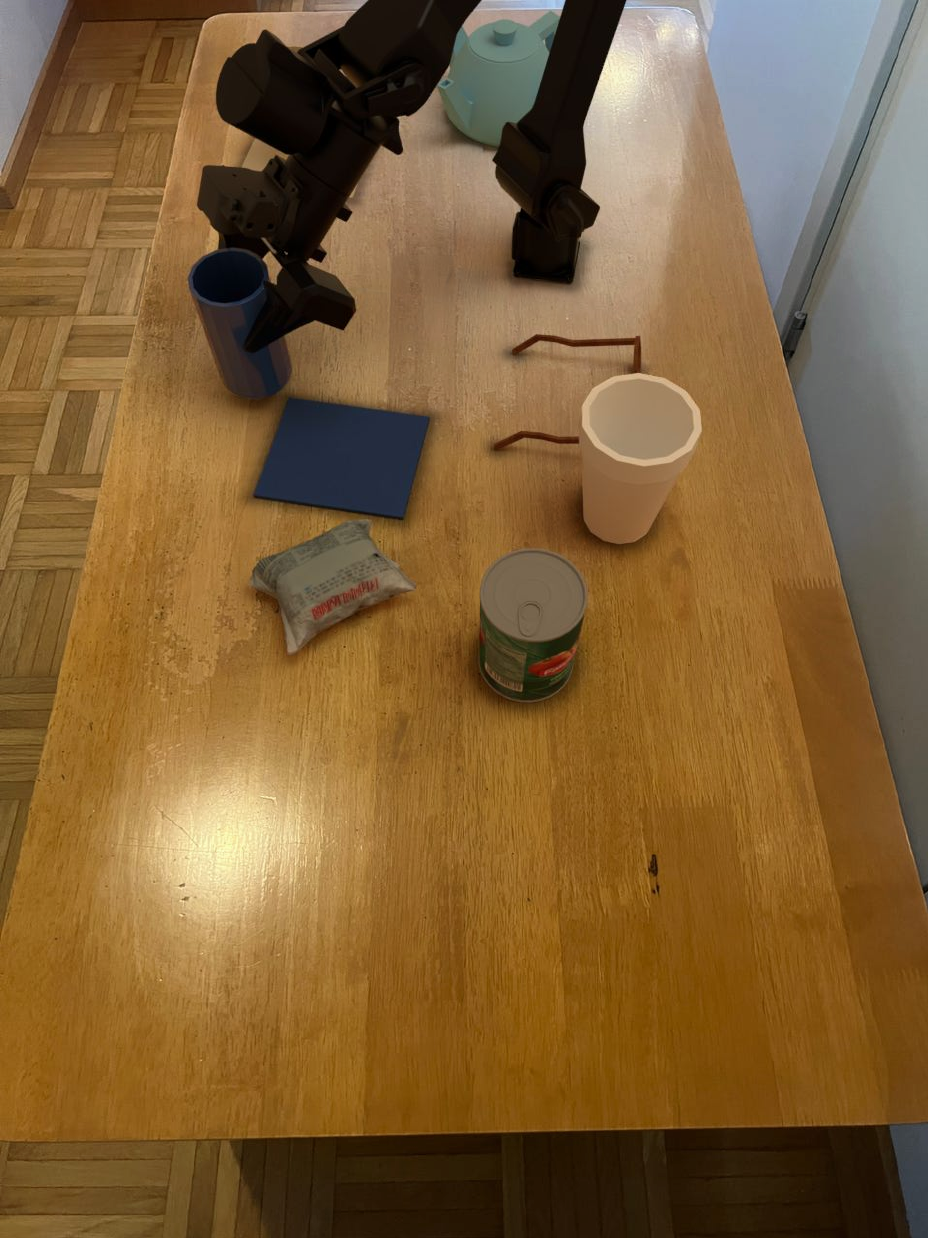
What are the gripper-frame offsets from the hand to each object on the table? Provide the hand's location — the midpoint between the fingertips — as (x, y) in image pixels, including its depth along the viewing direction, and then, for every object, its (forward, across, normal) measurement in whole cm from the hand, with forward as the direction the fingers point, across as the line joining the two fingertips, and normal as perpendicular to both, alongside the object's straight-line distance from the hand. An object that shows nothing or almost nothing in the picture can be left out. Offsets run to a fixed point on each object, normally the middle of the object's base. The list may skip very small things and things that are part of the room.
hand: (230, 326), depth 84 cm
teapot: (-25, -24, +38) cm, 52 cm away
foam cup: (-9, +31, +22) cm, 39 cm away
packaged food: (+9, +25, +3) cm, 27 cm away
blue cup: (+4, 0, +6) cm, 7 cm away
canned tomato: (+2, +39, +11) cm, 40 cm away
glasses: (-12, +18, +24) cm, 33 cm away
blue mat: (+3, +12, +9) cm, 15 cm away
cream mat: (-9, -29, +21) cm, 37 cm away
